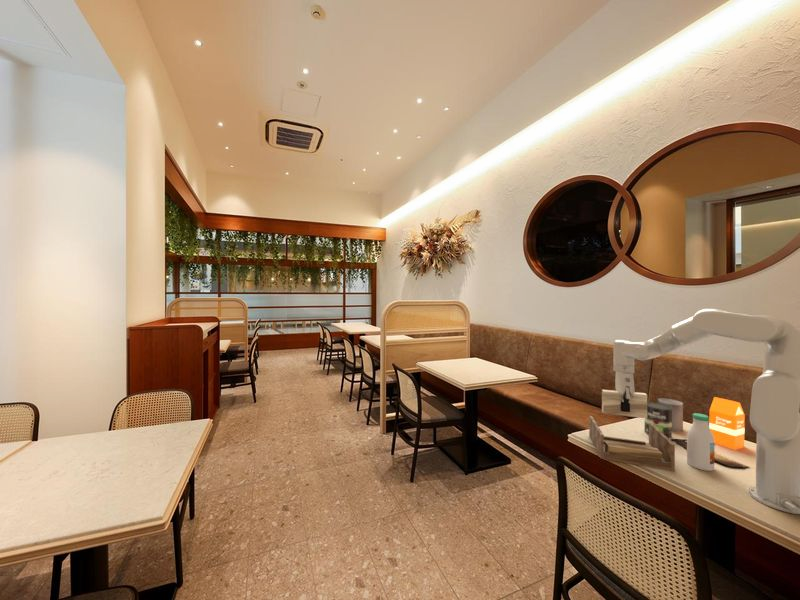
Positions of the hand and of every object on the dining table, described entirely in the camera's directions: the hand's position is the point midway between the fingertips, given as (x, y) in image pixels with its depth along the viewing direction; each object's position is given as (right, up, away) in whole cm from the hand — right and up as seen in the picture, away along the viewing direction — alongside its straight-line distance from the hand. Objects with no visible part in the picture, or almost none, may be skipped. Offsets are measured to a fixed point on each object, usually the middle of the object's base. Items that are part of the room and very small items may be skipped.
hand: (623, 409), depth 138 cm
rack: (-2, -16, -5) cm, 17 cm away
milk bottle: (+18, -17, -16) cm, 29 cm away
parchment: (+35, -16, -6) cm, 39 cm away
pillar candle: (+37, -16, +19) cm, 45 cm away
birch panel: (0, -2, 0) cm, 2 cm away
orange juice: (+48, -17, +3) cm, 50 cm away
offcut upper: (-5, -13, -11) cm, 18 cm away
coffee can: (+24, -16, +11) cm, 31 cm away
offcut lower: (-5, -15, -11) cm, 19 cm away
